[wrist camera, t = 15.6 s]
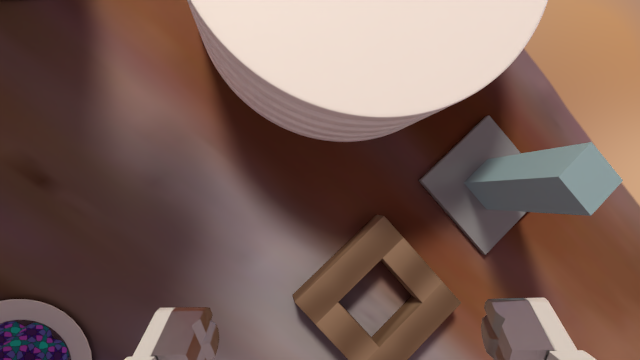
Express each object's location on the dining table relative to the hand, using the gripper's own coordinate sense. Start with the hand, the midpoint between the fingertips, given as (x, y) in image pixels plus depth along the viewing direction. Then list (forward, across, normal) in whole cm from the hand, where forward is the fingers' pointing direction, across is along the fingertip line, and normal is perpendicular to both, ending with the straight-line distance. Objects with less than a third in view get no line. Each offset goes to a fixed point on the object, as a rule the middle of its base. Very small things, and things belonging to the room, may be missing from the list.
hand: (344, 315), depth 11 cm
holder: (+18, -2, +19) cm, 26 cm away
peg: (+25, -14, +12) cm, 31 cm away
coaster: (+26, -14, +13) cm, 32 cm away
